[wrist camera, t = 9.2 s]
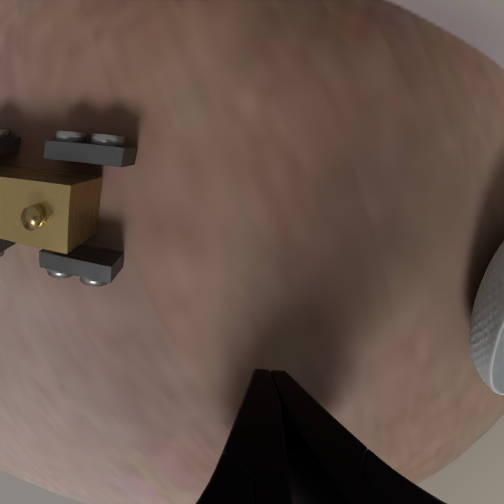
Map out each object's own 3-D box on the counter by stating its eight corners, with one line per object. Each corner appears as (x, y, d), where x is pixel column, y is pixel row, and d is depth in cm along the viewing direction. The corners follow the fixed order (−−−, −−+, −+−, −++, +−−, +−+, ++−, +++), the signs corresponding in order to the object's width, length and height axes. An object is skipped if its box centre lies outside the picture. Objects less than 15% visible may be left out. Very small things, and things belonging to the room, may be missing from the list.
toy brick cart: (122, 275, 19) (107, 296, 16) (-33, 238, 17) (-56, 250, 14) (138, 137, 16) (123, 136, 13) (-30, 129, 14) (-55, 131, 11)
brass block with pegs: (98, 231, 18) (60, 259, 13) (-26, 207, 16) (-70, 225, 11) (103, 176, 17) (63, 188, 12) (-24, 163, 15) (-71, 172, 10)
